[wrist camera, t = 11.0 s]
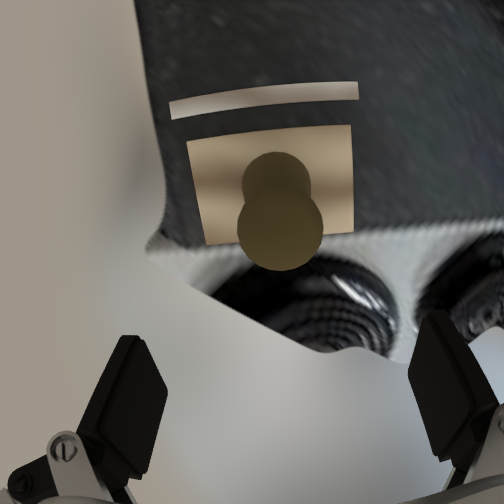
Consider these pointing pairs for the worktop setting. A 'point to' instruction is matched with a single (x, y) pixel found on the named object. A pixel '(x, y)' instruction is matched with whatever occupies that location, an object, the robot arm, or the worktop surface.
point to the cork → (278, 213)
